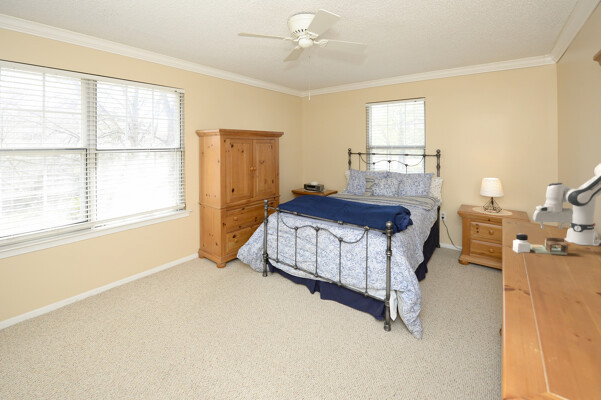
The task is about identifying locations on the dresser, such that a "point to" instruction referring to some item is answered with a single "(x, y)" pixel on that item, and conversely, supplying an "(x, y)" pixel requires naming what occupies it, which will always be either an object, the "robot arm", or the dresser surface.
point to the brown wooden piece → (556, 241)
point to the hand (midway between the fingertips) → (551, 228)
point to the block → (552, 245)
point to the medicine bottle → (521, 243)
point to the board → (542, 250)
